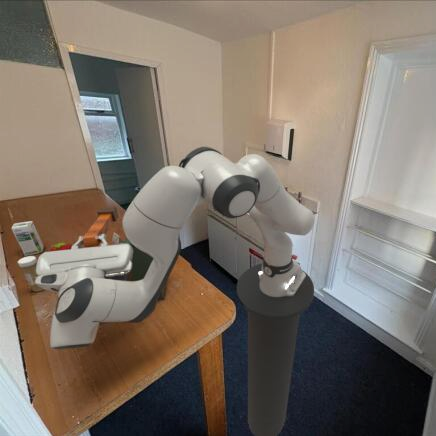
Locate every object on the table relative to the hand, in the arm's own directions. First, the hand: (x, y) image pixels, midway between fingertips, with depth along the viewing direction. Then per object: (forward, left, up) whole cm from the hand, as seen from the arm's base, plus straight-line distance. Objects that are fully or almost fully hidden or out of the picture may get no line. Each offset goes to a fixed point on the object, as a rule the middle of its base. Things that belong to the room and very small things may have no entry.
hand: (93, 235), depth 67 cm
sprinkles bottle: (+13, -35, -32) cm, 49 cm away
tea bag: (-16, -39, -32) cm, 53 cm away
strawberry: (+2, -50, -32) cm, 60 cm away
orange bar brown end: (-4, -6, -2) cm, 7 cm away
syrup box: (+9, -67, -32) cm, 75 cm away
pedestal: (-13, -3, -32) cm, 35 cm away
